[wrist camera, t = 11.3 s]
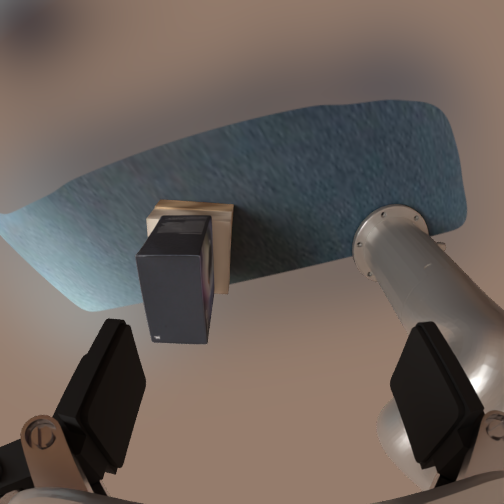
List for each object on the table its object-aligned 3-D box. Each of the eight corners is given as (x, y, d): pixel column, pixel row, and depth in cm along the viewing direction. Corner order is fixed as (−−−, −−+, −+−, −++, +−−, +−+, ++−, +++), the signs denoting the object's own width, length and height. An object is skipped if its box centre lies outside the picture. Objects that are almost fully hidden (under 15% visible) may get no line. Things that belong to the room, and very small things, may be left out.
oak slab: (233, 202, 43) (232, 211, 40) (229, 267, 48) (227, 279, 45) (161, 198, 43) (154, 206, 40) (163, 261, 47) (157, 273, 44)
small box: (218, 291, 41) (210, 347, 32) (169, 290, 41) (149, 344, 32) (214, 213, 37) (202, 256, 27) (159, 214, 36) (131, 255, 27)
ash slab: (231, 211, 40) (230, 221, 37) (229, 279, 45) (228, 294, 42) (154, 208, 40) (146, 218, 37) (159, 275, 44) (153, 289, 41)
